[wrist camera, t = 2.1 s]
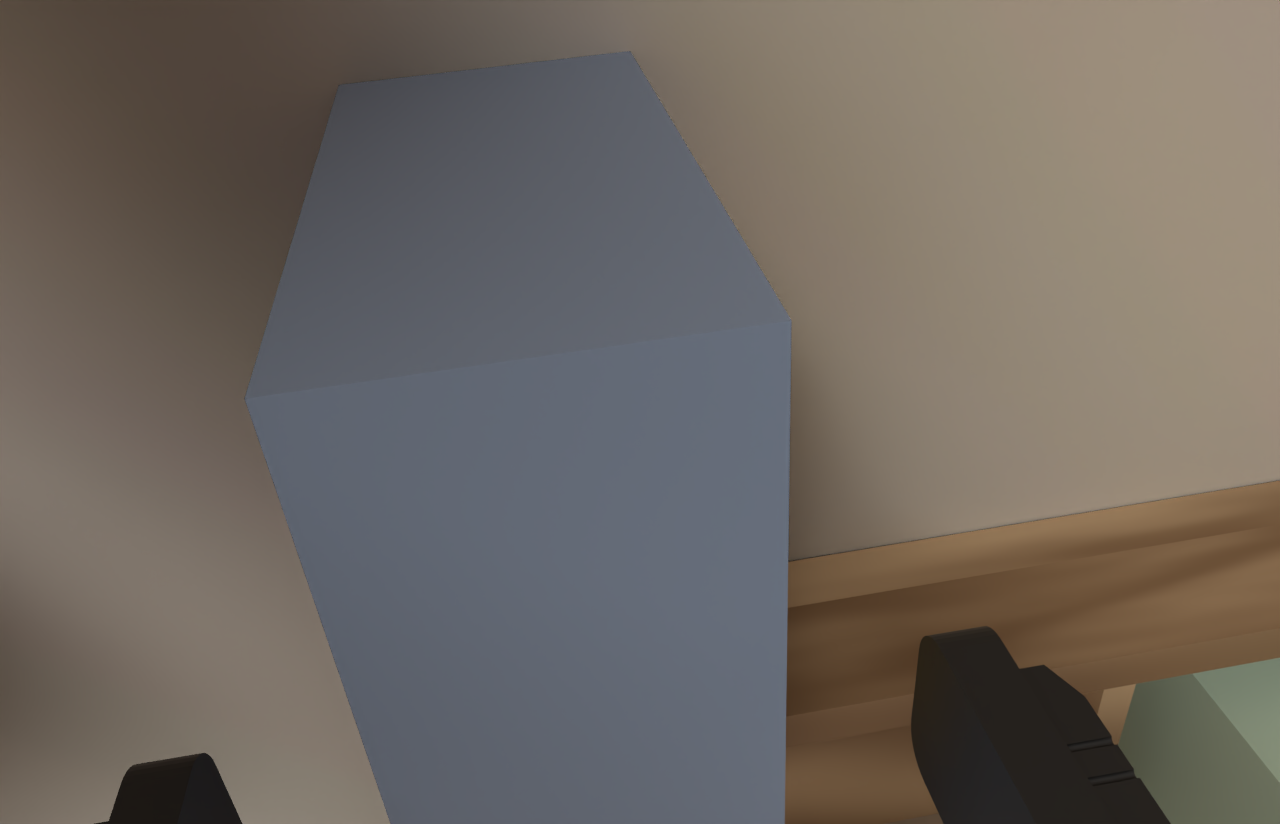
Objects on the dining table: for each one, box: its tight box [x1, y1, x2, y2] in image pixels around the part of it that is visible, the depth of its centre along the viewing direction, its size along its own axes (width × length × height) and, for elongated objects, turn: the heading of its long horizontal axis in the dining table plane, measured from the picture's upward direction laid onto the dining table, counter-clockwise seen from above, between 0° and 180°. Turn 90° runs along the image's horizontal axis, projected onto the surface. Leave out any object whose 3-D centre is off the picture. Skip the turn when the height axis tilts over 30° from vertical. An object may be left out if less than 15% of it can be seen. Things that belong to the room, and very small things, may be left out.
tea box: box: [245, 51, 791, 824], centre depth 16 cm, size 5×9×10 cm, turn 4°
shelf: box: [785, 481, 1280, 824], centre depth 27 cm, size 10×28×4 cm, turn 94°
